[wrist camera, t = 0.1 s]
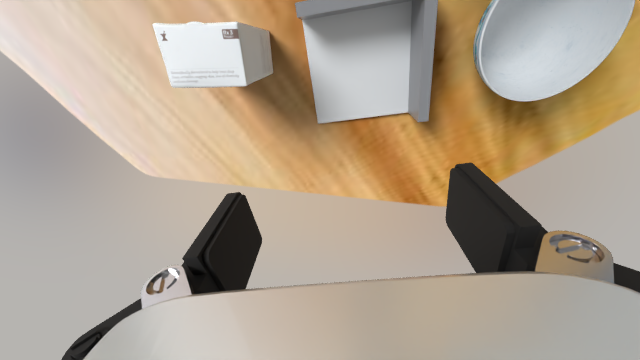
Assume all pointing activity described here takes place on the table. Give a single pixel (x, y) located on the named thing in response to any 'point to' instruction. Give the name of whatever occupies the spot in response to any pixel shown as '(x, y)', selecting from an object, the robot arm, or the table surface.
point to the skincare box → (214, 54)
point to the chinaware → (545, 43)
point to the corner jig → (370, 56)
